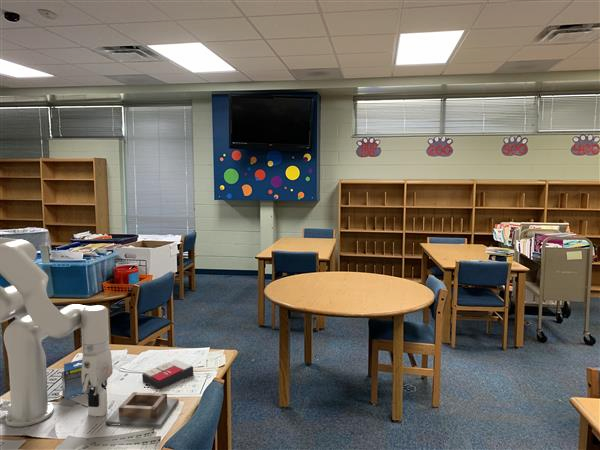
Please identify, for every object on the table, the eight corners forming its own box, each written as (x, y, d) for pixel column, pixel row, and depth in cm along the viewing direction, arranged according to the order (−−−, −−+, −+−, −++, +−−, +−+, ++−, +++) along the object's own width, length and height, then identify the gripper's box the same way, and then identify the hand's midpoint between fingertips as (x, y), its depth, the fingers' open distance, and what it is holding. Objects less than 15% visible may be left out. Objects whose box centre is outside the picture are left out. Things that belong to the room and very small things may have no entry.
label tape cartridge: (90, 387, 146) (89, 353, 145) (93, 391, 143) (92, 357, 142) (62, 395, 140) (60, 360, 139) (65, 399, 137) (63, 364, 136)
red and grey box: (141, 372, 151) (176, 357, 163) (142, 383, 152) (176, 367, 163) (158, 380, 144) (193, 364, 156) (159, 392, 145) (194, 375, 157)
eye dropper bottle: (100, 407, 133) (99, 372, 131) (109, 414, 129) (107, 377, 128) (86, 413, 129) (85, 376, 128) (94, 420, 126) (93, 382, 125)
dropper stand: (105, 424, 123) (104, 411, 123) (129, 399, 138) (128, 387, 138) (160, 427, 122) (160, 414, 122) (178, 401, 137) (178, 390, 137)
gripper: (92, 357, 119) (94, 418, 120) (120, 337, 135) (122, 390, 137) (67, 356, 119) (69, 416, 121) (98, 336, 136) (100, 389, 137)
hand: (97, 402), depth 129 cm, fingers closed on eye dropper bottle, 3 cm apart
